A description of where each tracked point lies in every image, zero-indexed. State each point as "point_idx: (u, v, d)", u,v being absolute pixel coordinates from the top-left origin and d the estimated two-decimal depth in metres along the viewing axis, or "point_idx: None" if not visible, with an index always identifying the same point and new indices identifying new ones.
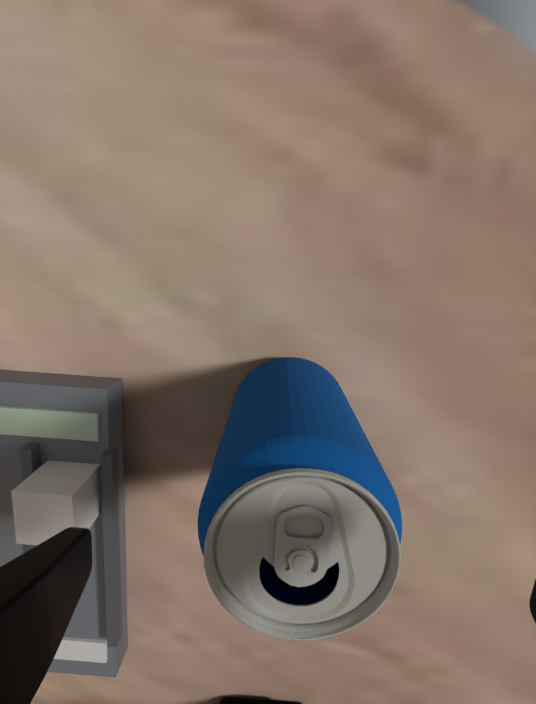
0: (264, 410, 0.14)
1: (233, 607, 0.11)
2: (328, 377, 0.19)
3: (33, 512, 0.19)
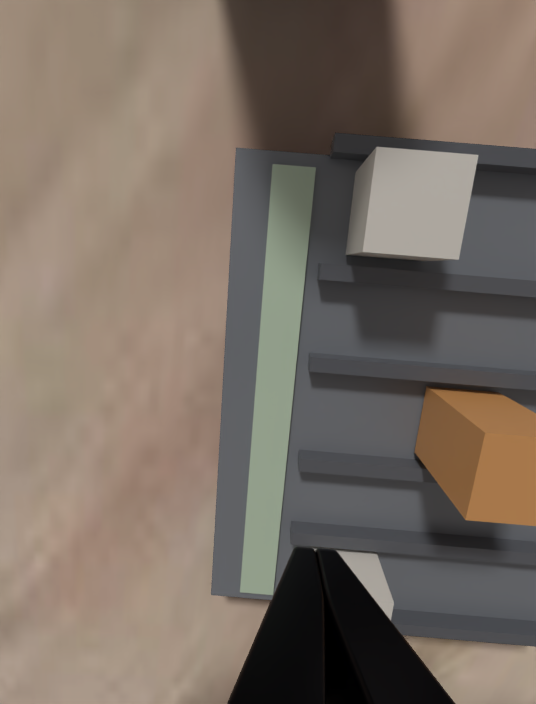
0: None
1: None
2: None
3: (403, 220, 0.11)
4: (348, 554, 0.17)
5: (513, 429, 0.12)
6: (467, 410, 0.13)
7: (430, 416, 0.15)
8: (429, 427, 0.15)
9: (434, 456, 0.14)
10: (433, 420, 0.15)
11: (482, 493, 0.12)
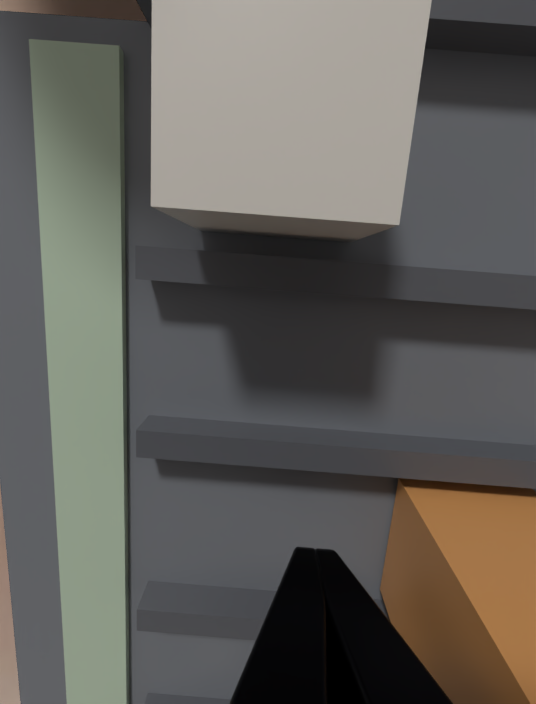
0: None
1: None
2: None
3: (247, 119, 0.04)
4: None
5: None
6: (479, 570, 0.06)
7: (404, 543, 0.08)
8: (403, 564, 0.08)
9: (410, 634, 0.07)
10: (409, 556, 0.07)
11: None
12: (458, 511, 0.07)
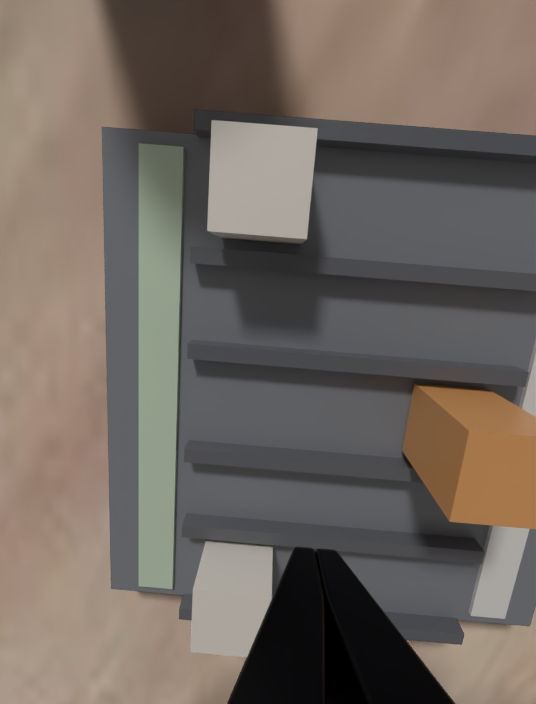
0: None
1: None
2: None
3: (245, 198, 0.11)
4: (242, 547, 0.16)
5: (499, 427, 0.11)
6: (453, 407, 0.13)
7: (417, 414, 0.14)
8: (416, 425, 0.14)
9: (420, 455, 0.14)
10: (420, 418, 0.14)
11: (467, 493, 0.11)
12: (446, 393, 0.14)
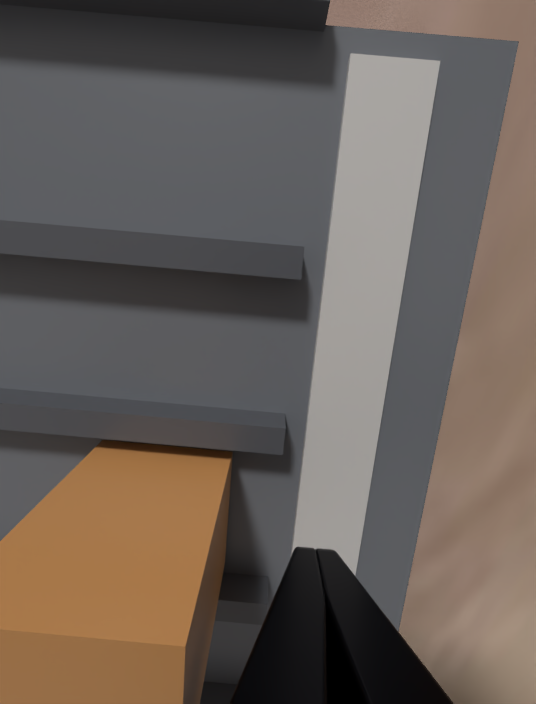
0: None
1: None
2: None
3: None
4: None
5: (45, 594, 0.05)
6: (56, 514, 0.06)
7: None
8: None
9: None
10: None
11: None
12: (119, 468, 0.08)
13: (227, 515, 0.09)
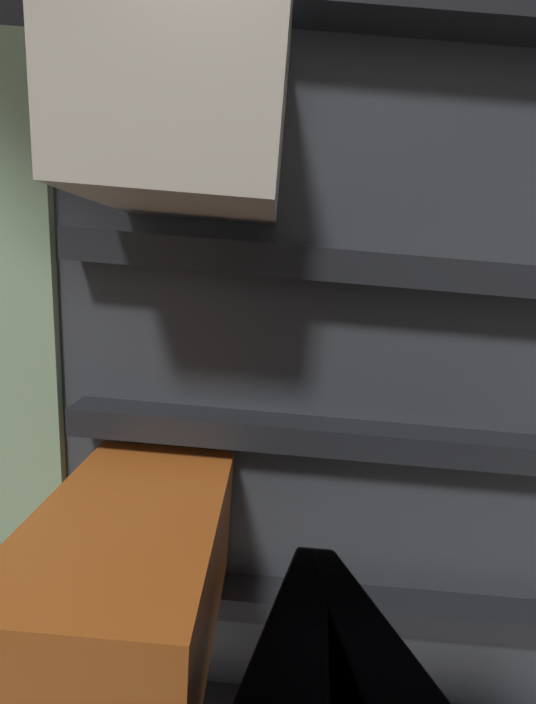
0: None
1: None
2: None
3: (121, 94, 0.04)
4: None
5: (48, 595, 0.05)
6: (58, 514, 0.06)
7: None
8: None
9: None
10: None
11: None
12: (121, 468, 0.08)
13: (229, 515, 0.09)
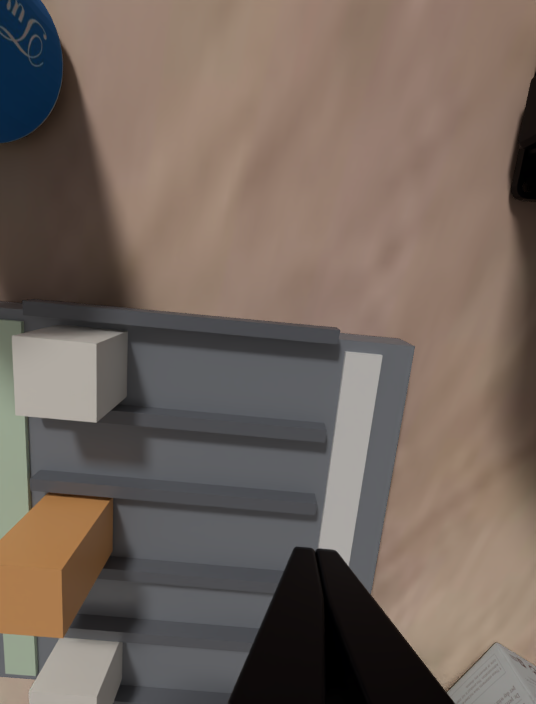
0: None
1: None
2: None
3: (44, 391, 0.14)
4: (91, 643, 0.19)
5: (17, 555, 0.14)
6: (23, 527, 0.15)
7: None
8: None
9: None
10: None
11: None
12: (54, 506, 0.17)
13: (111, 527, 0.18)
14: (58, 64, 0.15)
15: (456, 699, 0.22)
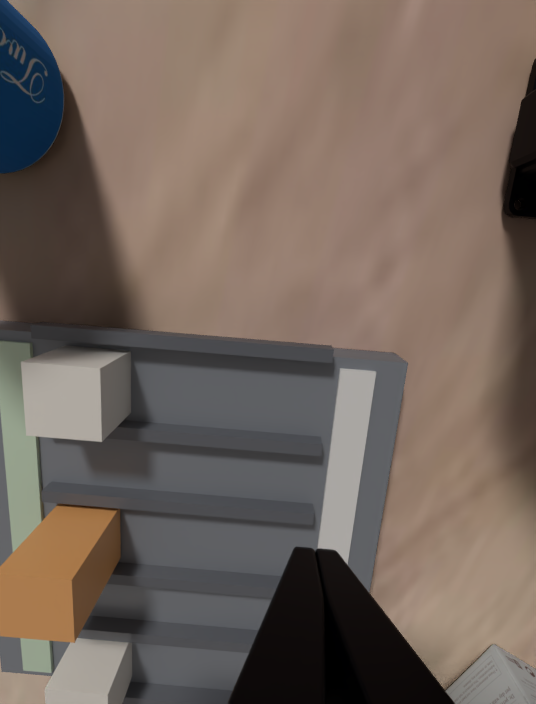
0: None
1: None
2: None
3: (52, 413, 0.14)
4: (102, 643, 0.20)
5: (31, 566, 0.15)
6: (36, 538, 0.16)
7: None
8: None
9: None
10: None
11: (6, 616, 0.15)
12: (64, 516, 0.18)
13: (118, 535, 0.19)
14: (59, 97, 0.15)
15: (454, 698, 0.22)
